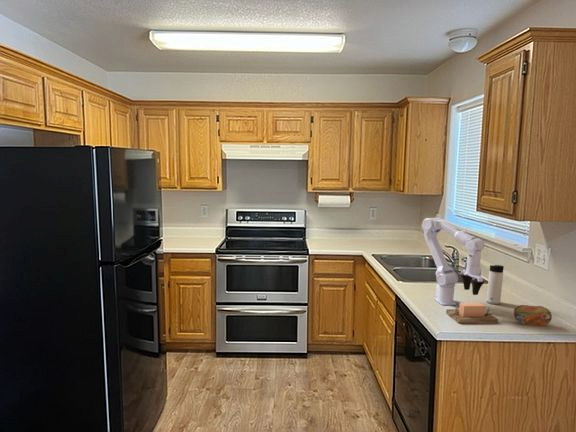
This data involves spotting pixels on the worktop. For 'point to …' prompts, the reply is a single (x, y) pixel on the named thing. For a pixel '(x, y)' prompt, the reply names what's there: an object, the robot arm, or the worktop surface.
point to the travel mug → (495, 284)
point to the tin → (532, 315)
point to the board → (468, 320)
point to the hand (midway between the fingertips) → (470, 292)
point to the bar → (471, 309)
